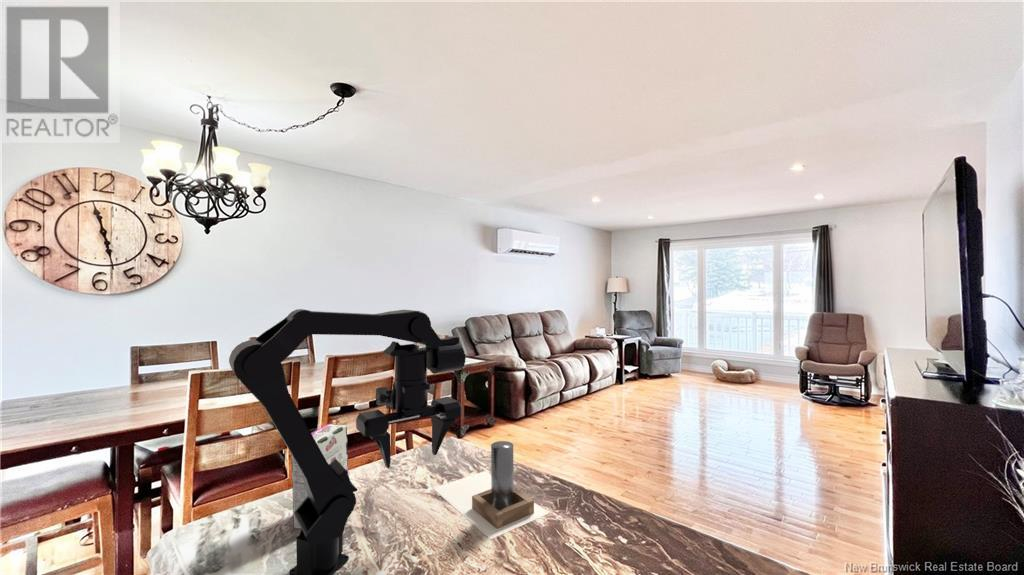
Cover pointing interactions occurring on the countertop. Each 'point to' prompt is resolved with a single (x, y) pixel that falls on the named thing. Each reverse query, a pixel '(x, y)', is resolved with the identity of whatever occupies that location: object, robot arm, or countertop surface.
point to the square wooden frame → (504, 516)
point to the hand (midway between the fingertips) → (411, 460)
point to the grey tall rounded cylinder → (502, 474)
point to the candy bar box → (332, 447)
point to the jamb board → (461, 500)
